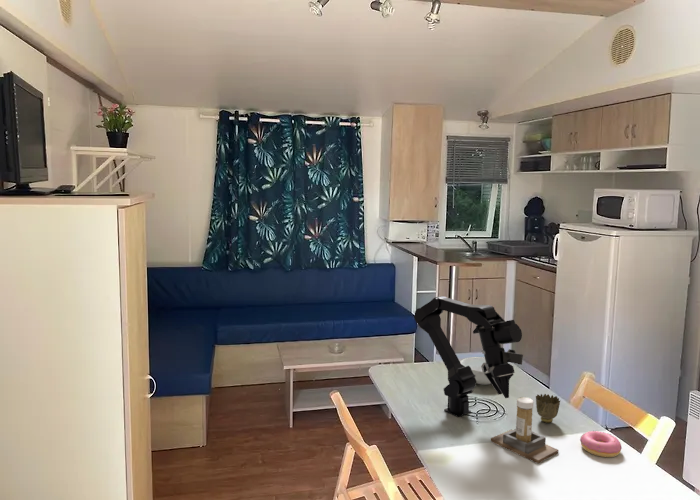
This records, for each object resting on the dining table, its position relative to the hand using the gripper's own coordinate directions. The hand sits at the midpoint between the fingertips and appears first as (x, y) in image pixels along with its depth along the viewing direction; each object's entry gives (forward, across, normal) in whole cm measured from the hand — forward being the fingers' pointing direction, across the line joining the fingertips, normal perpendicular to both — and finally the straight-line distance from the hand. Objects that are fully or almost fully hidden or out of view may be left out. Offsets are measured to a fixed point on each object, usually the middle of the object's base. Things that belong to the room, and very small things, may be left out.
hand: (503, 395), depth 166 cm
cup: (+12, +11, -14) cm, 21 cm away
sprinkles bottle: (+13, -7, -1) cm, 15 cm away
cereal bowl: (0, +45, -2) cm, 45 cm away
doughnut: (+20, -6, -22) cm, 30 cm away
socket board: (+14, -7, -1) cm, 16 cm away
